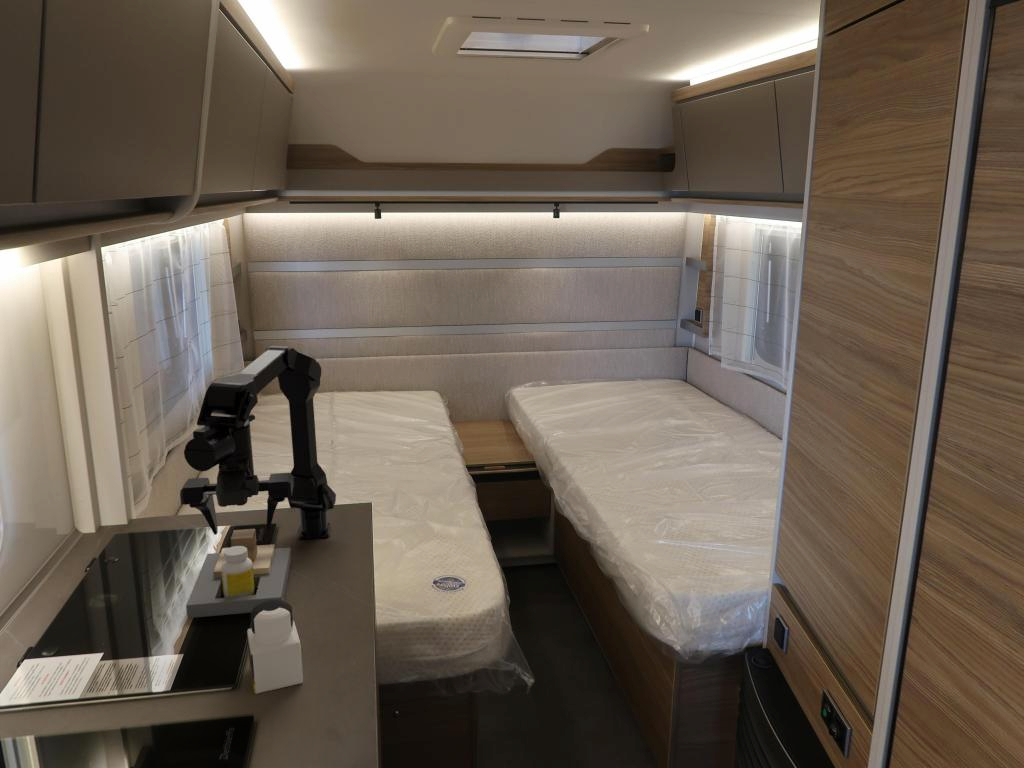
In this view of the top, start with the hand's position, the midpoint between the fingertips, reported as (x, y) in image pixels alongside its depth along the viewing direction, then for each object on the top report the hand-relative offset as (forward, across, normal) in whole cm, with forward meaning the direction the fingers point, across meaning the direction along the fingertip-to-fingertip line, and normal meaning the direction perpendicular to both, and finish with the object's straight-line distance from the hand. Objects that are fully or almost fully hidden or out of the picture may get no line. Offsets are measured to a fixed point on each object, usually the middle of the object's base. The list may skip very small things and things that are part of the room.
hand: (242, 531), depth 141 cm
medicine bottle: (+12, +8, -27) cm, 31 cm away
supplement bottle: (+13, -1, -2) cm, 13 cm away
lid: (+10, -1, +8) cm, 13 cm away
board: (+13, -1, +3) cm, 13 cm away
